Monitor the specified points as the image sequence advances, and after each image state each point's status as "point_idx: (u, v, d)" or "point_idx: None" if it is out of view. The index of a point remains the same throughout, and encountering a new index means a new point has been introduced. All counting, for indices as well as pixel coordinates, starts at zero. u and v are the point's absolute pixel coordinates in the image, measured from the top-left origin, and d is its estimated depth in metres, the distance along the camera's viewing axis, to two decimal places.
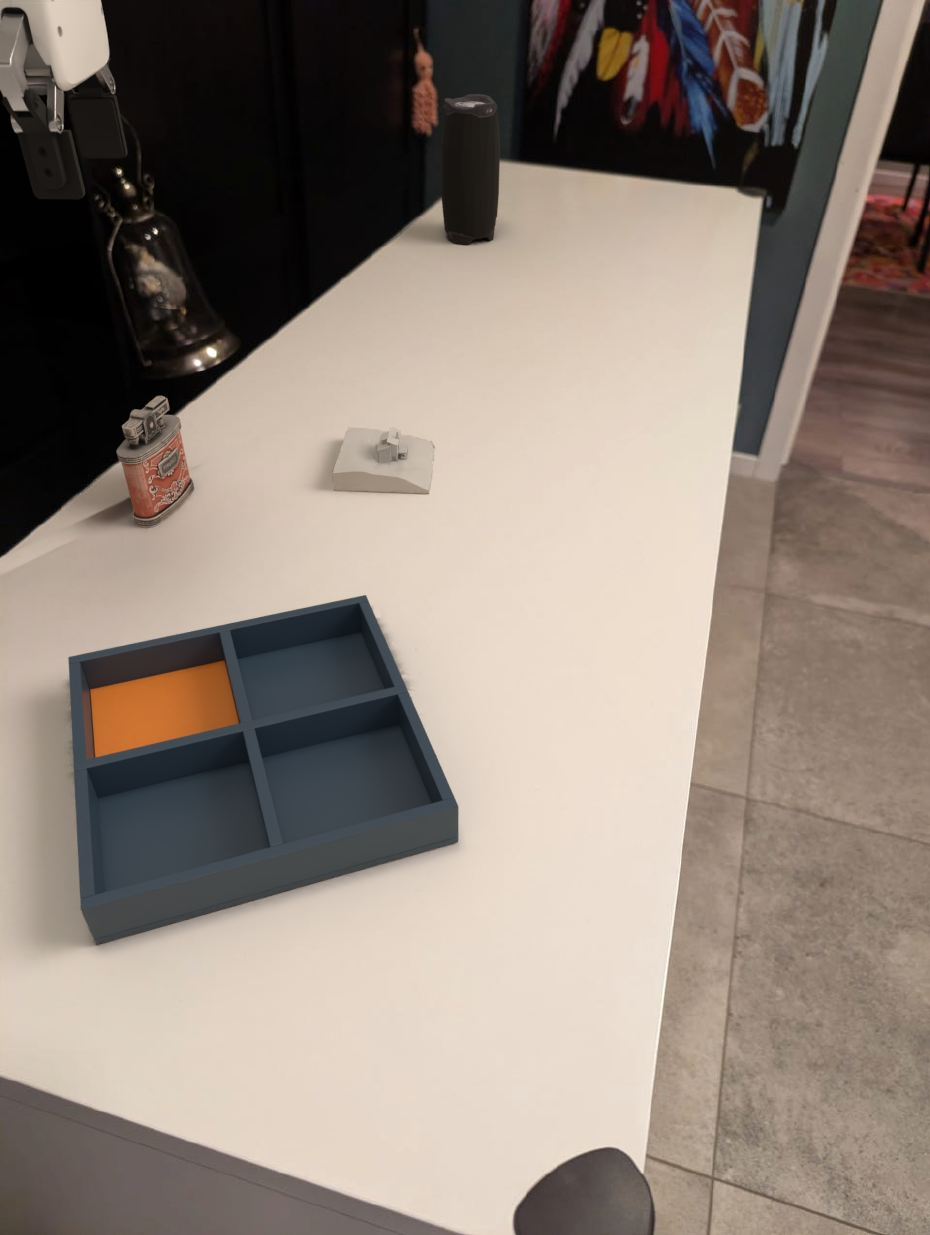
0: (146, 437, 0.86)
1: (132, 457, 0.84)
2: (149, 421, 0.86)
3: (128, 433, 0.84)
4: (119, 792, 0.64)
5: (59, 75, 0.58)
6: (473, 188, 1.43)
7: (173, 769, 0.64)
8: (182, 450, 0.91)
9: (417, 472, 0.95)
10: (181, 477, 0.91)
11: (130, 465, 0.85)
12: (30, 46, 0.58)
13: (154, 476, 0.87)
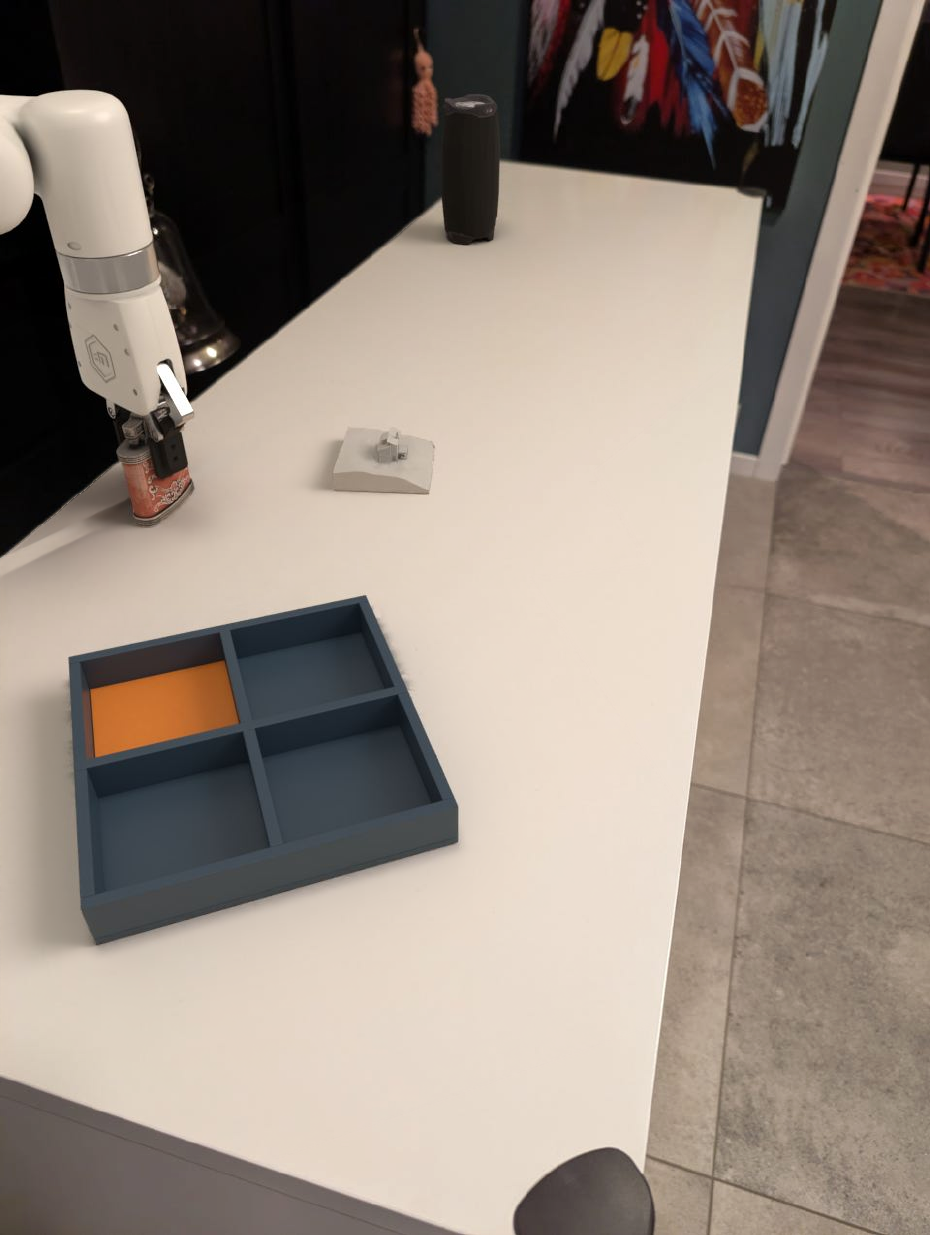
0: (146, 437, 0.86)
1: (132, 457, 0.84)
2: None
3: (128, 433, 0.84)
4: (119, 792, 0.64)
5: (186, 391, 0.83)
6: (473, 188, 1.43)
7: (173, 769, 0.64)
8: None
9: (417, 472, 0.95)
10: (181, 477, 0.91)
11: (130, 465, 0.85)
12: None
13: (154, 476, 0.87)
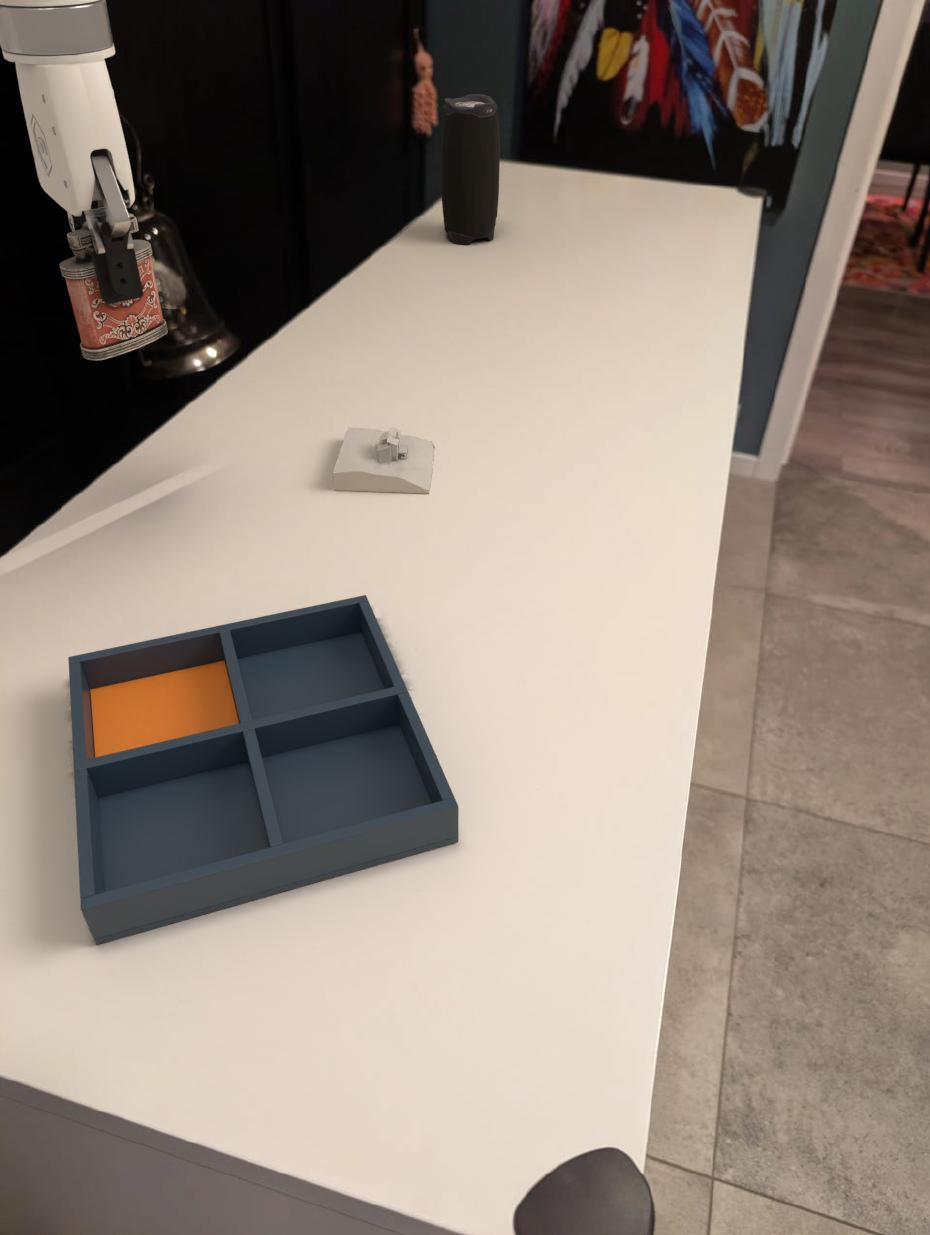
0: None
1: (71, 270, 0.74)
2: None
3: (71, 242, 0.74)
4: (119, 792, 0.64)
5: (132, 196, 0.71)
6: (473, 188, 1.43)
7: (173, 769, 0.64)
8: (151, 283, 0.80)
9: (417, 472, 0.95)
10: (145, 314, 0.80)
11: (70, 280, 0.75)
12: None
13: (101, 301, 0.77)
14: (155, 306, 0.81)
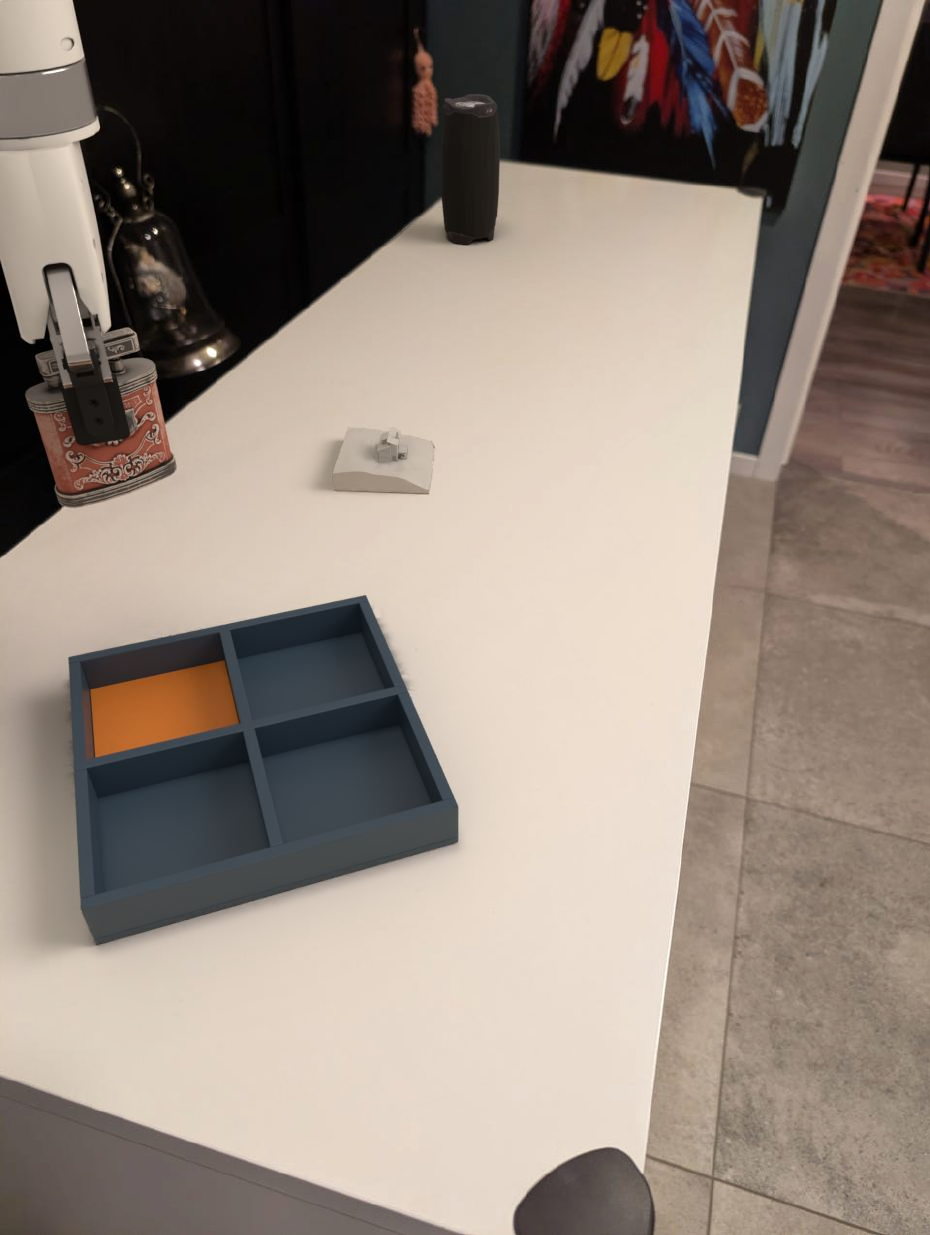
0: None
1: (35, 402, 0.57)
2: None
3: (40, 367, 0.57)
4: (119, 792, 0.64)
5: (105, 322, 0.53)
6: (473, 188, 1.43)
7: (173, 769, 0.64)
8: (152, 414, 0.62)
9: (417, 472, 0.95)
10: (142, 452, 0.62)
11: (36, 412, 0.58)
12: None
13: None
14: (158, 442, 0.63)
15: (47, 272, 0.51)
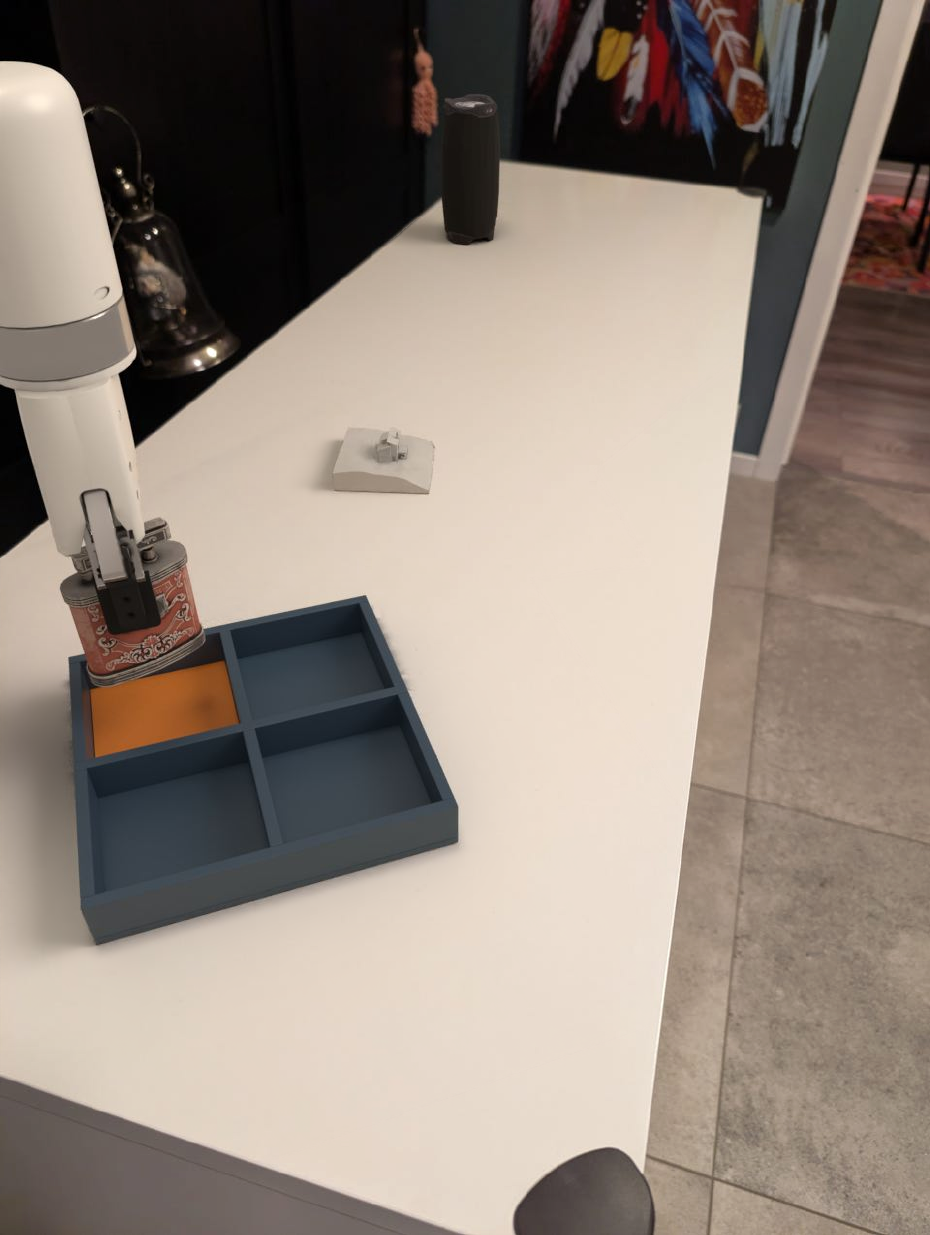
0: None
1: (69, 598, 0.58)
2: None
3: (74, 564, 0.58)
4: (119, 792, 0.64)
5: (139, 534, 0.54)
6: (473, 188, 1.43)
7: (173, 769, 0.64)
8: (183, 595, 0.63)
9: (417, 472, 0.95)
10: (172, 631, 0.64)
11: (70, 605, 0.59)
12: None
13: None
14: (187, 619, 0.64)
15: (84, 495, 0.52)
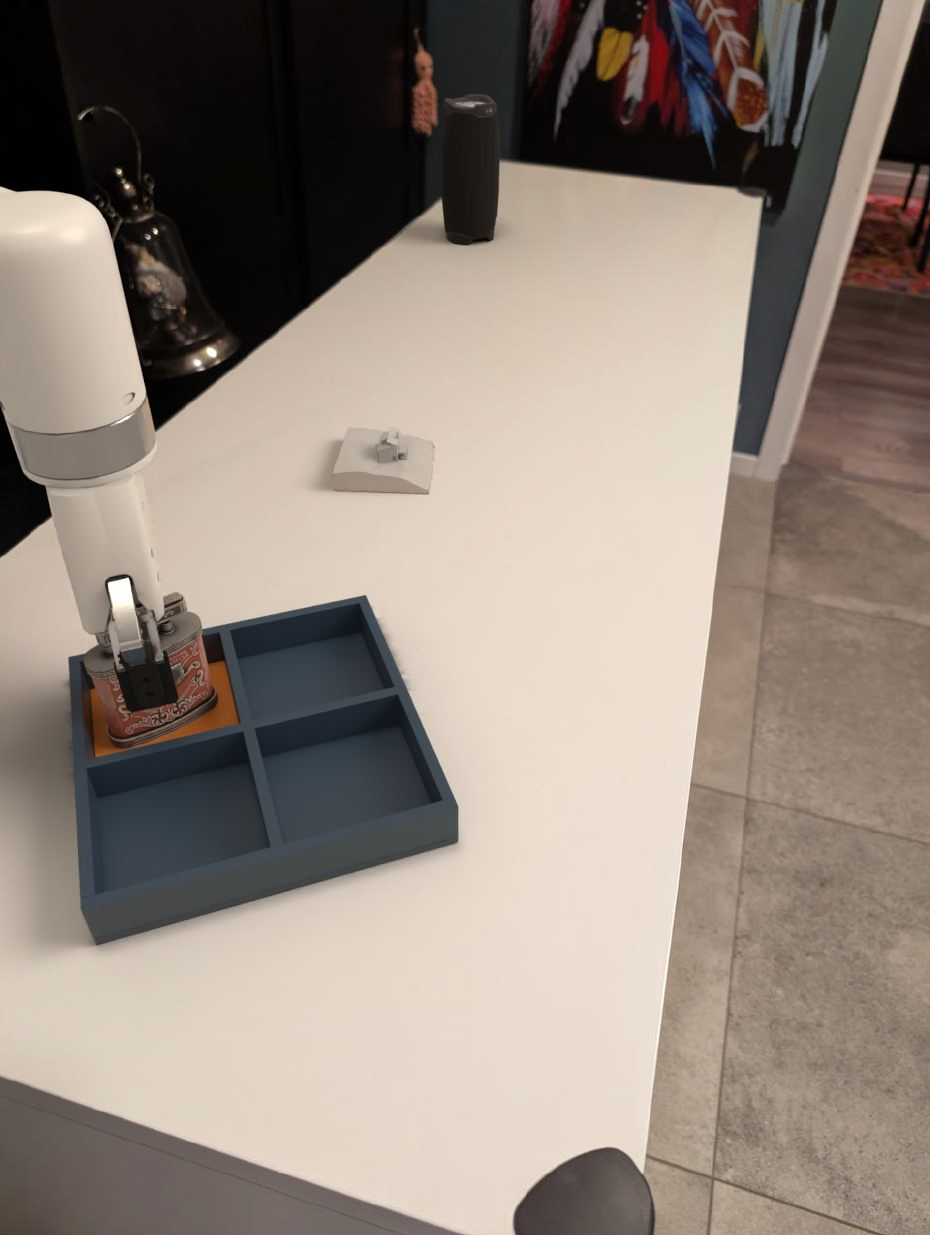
0: None
1: (92, 670, 0.62)
2: None
3: (97, 638, 0.62)
4: (119, 792, 0.64)
5: (159, 613, 0.58)
6: (473, 188, 1.43)
7: (173, 769, 0.64)
8: (198, 663, 0.67)
9: (417, 472, 0.95)
10: (187, 695, 0.67)
11: None
12: None
13: None
14: (202, 684, 0.68)
15: None
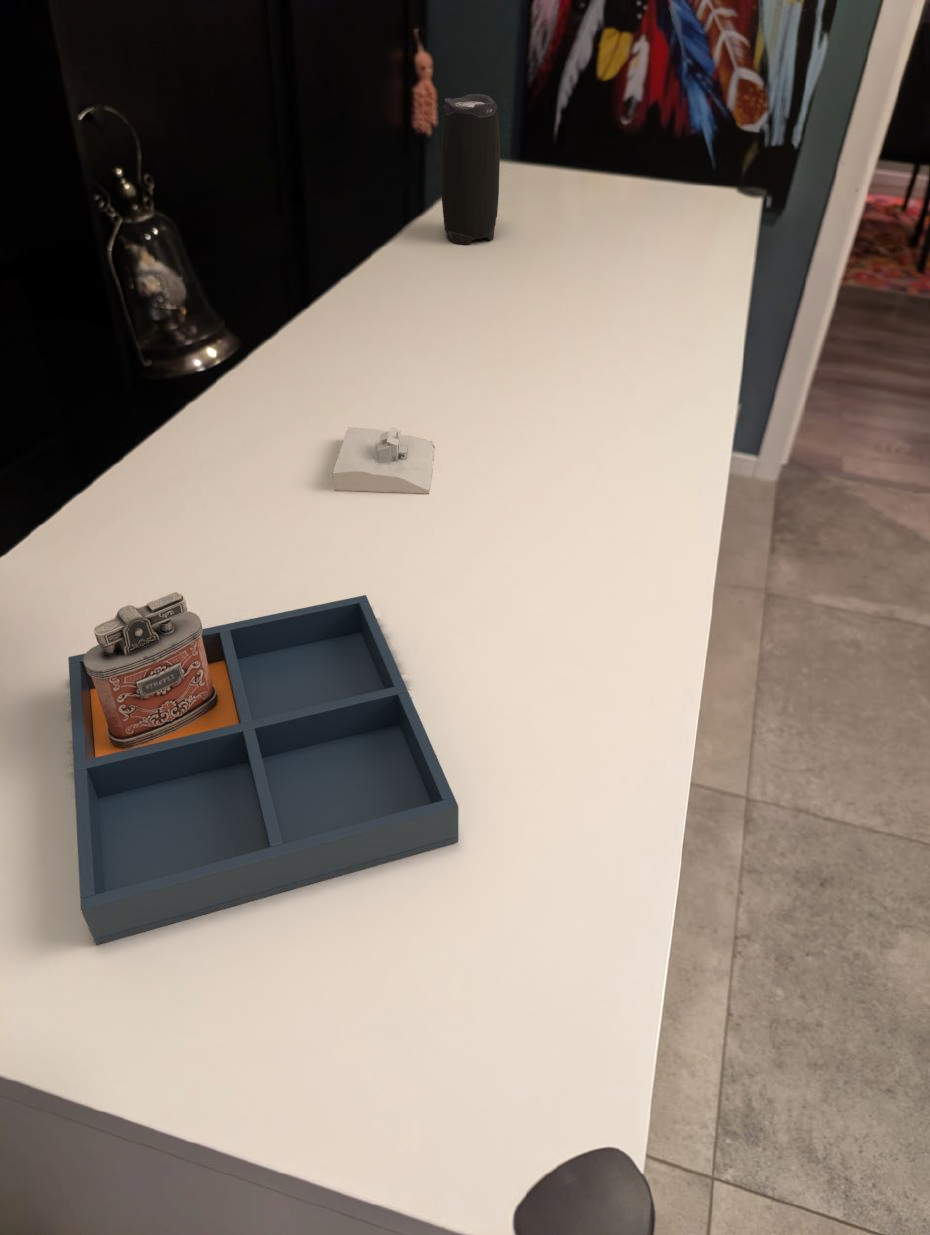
0: (126, 646, 0.63)
1: (92, 670, 0.62)
2: (136, 628, 0.63)
3: (97, 638, 0.62)
4: (119, 792, 0.64)
5: None
6: (473, 188, 1.43)
7: (173, 769, 0.64)
8: (198, 663, 0.67)
9: (417, 472, 0.95)
10: (187, 695, 0.67)
11: None
12: None
13: (129, 694, 0.64)
14: (202, 684, 0.68)
15: None
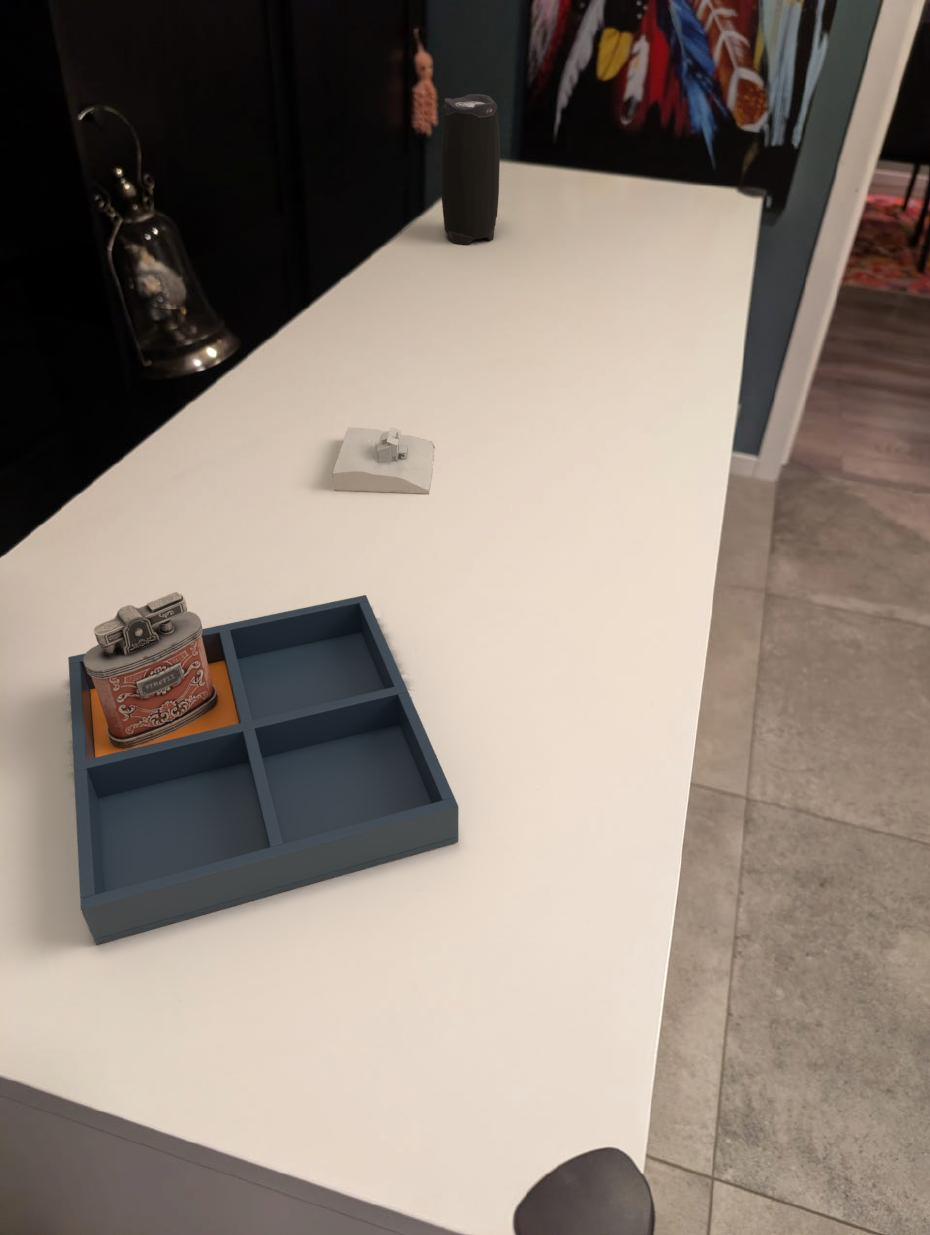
0: (126, 646, 0.63)
1: (92, 670, 0.62)
2: (136, 628, 0.63)
3: (97, 638, 0.62)
4: (119, 792, 0.64)
5: None
6: (473, 188, 1.43)
7: (173, 769, 0.64)
8: (198, 663, 0.67)
9: (417, 472, 0.95)
10: (187, 695, 0.67)
11: None
12: None
13: (129, 694, 0.64)
14: (202, 684, 0.68)
15: None
